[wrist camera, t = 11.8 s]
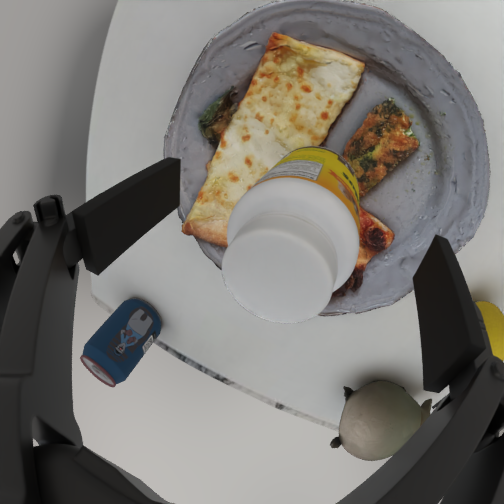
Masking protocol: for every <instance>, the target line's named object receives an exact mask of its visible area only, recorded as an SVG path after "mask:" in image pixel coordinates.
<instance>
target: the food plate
mask: <svg viewBox="0 0 504 504" xmlns="http://www.w3.org/2000/svg"><path fill="white" fill-rule="evenodd" d="M211 39H212V38H211ZM211 39H210V40H211ZM208 43H209V42H208ZM208 43H207V45H208ZM207 45H206V46H205V47H204V49H203V51H202V53H203V52H204V53H203V55H202V53H201V54H200V56H199V58H198V59H197V61H196V63H195V65H194V67H193V69H192V71H191V73H190V75H189V77H188V79H187V81H186V84H185V86H184V87H183V90H182V93H181V95H180V97H179V99H178V102H177V105H176V107H175V109H174V112H173V115H174V116H173V115H172V117H171V120H170V122H172V123H171V124H170V123H169V124H170V126H168V131H169V132H168V135H166V134H165V137H164V138H165V139H164V159H165V158H167V157H173V158H178V159H181V171H180V206H179V207H177V209H178V215H179V218H180V219H181V220H182V223H183V225H182V231H181V232H183V233H184V234H186V235H193V236H194V237H195V239H196V241H197V242H198V244H199V246H200V248H201V249H202V251H203V252H204V254H205V255H206V256H207V257H208V258H209V259H211V260H212V261H213V262H214V263H215V264H216V266H217V267H218V268H220V270H222V259H223V256H224V253H225V251H226V249H227V247H228V242H227V226H228V221H229V218H230V215H231V212H232V210H233V208H234V207H235V205H236V204H237V202H238V201H239V200H240V199H241V197H242V196H243V195H244V194H245V193H246V192H247V191H248V190H249V189H250V188H251V187H252V186H253V185H254V184H255V183H256V182H258V181H259V180H260V179H261V178H262V177H263V176H264V175H265V174H266V173H267V172H268V171H269V170H270V169H271V168H272V167H274V166H275V165H276V164H277V163H278V162H279V161H280V160H281V159H282V158H283V157H284V156H286V155H287V154H288V153H290V152H292V151H293V150H296V149H298V148H301V147H306V146H319V147H324V148H327V149H330V150H332V151H334V152H336V153H338V154H339V155H341V156H342V157H343V158H344V159H345V160H346V161H347V162H348V163H349V164H350V166H351V167H352V169H353V171H354V173H355V175H356V177H357V181H358V187H359V210H360V244H359V253H358V258H357V262H356V265H355V267H354V270H353V272H352V273H351V275H350V277H349V278H348V279H347V281H346V282H345V283H344V284H343V285H342V286H341V287H340V288H338V289H337V290H336V291H334V292H332V296H331V298H330V301H329V303H328V304H327V306H326V307H325V308H324V309H323V311H322V312H320V313H319V314H318V315H319V316H335V315H340V314H342V315H343V314H346V313H357V314H358V313H362V312H366V311H369V310H370V311H371V310H373V309H376V308H380V307H384V306H390V305H393V304H394V303H395V302H397V301H398V300H400V298H403V297H404V296H406V294H408V293H410V292H411V291H412V290H414V285H413V279H412V278H413V276H414V274H415V272H416V271H417V269H418V267H419V265H420V263H421V262H422V260H423V258H424V256H425V254H426V252H427V250H428V248H429V246H430V244H431V242H432V240H433V238H434V236H435V234H437V235H439V236H441V237H444V238H446V239H448V240H449V243H450V245H451V247H452V249H453V252H454V254H456V253H457V252H458V251H460V250H459V249H460V247H462V246H465V245H466V244H465V243H466V242H467V241H468V242H469V241H470V240H471V239H472V238H473V236H474V234H475V233H476V231H477V228H478V227H479V225H480V222H481V220H482V219H483V217H484V213H485V210H486V207H487V202H488V196H489V188H490V180H489V179H490V163H489V154H488V146H487V138H486V134H485V130H484V127H483V126H484V123H483V122H484V121H483V119H482V117H481V114H480V112H479V111H478V107H477V104H476V103H475V101H474V99H473V96H472V95H471V92H470V91H469V90H468V88H467V87H466V84H465V83H464V81H463V79H462V77H461V74H460V73H459V72H458V71H456V70H454V69H453V66H451V64H452V63H451V64H450V62H447V60H446V59H445V57H444V56H443V55H442V54H441V53H440V52H438V51H437V50H436V49H435V48H434V47H433V46H432V45H430V44H429V43H428V42H427V41H426V40H424V39H423V38H422V37H420V36H419V35H418V34H417V33H415V32H414V31H413V30H411V29H410V28H409V27H407V26H406V25H405V24H403V23H402V22H400V20H398V19H396V18H395V17H393V16H391V15H390V14H388V12H386V11H384V10H383V9H380V8H377V7H374V6H370V5H366V4H360V3H355V2H349V1H339V0H283V1H275V2H274V3H273V2H272V3H269V4H267V5H264V6H262V7H259V8H257V9H253V11H252V12H247V13H246V14H245V16H244V15H243V16H242V17H241V18H239V20H237V21H236V22H234V23H233V24H231V25H230V26H228V27H226V28H225V29H223V30H221V31H220V32H219V33H218V34H217V35H216V36H215V37H214V38H213V39H212V42H211V43H210V45H209V47H207ZM206 47H207V49H206ZM205 49H206V50H205ZM204 50H205V51H204ZM201 55H202V56H201ZM200 57H201V58H200ZM199 59H200V60H199ZM198 60H199V61H198ZM197 62H198V64H197ZM196 64H197V66H196ZM195 66H196V68H195ZM194 68H195V69H194ZM193 70H194V71H193ZM192 72H193V73H192ZM457 72H458V73H459V74H458V73H457ZM176 109H177V110H176ZM175 110H176V112H175ZM174 113H175V114H174ZM166 132H167V131H166ZM468 242H467V243H468ZM461 249H462V248H461Z"/></svg>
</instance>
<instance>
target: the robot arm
mask: <svg viewBox="0 0 504 504" xmlns="http://www.w3.org/2000/svg"><path fill="white" fill-rule="evenodd" d="M180 171H181V159H178V158H173V157H167V158H165V159H163V160H161V161H159V162H157V163H155V164H153V165H151V166H149V167H148V168H146V169H144V170H142V171H140V172H138V173H136V174H134V175H133V176H131V177H129V178H127V179H125V180H123V181H122V182H120V183H118V184H116V185H115V186H113V187H111V188H109V189H108V190H106V191H104V192H103V193H100V194H99V195H97V196H96V197H94V198H93V199H91V200H89V201H87V202H86V203H84V204H83V205H81V206H80V207H78V208H76V209H75V210H73V211H72V212H70V213H69V214H67V215H65V210H64V206H63V201H62V197H61V196H60V195H50V196H46V197H44V198H42V199H40V200H38V201H37V202H36V203H35V204H34V205H33V206H34V210H35V214H36V217H37V221H38V222H33V220H32V216H31V213H30V212H29V211H23V212H22V211H20V212H18V213H16V214H15V215H13V216H12V217H11V218H9V219H8V221H7V222H6V223H5V224H4V225H3V226H2V228H1V229H0V504H174V503H170V502H167V501H165V500H164V499H163V498H161V497H160V496H159V495H157V493H155V492H154V491H153V490H152V489H151V488H149V487H148V486H147V485H146V484H145V483H143V482H142V481H141V480H140V479H138V478H136V477H135V476H133V475H131V474H130V473H128V472H126V471H125V470H123V469H121V468H120V467H118V466H116V465H115V464H113V463H112V462H110V461H108V460H106V459H105V458H103V457H101V456H99V455H98V454H96V453H95V452H93V451H91V450H90V449H88V448H87V447H85V446H83V442H82V436H81V432H80V429H79V426H78V424H77V422H76V420H75V417H74V413H73V400H72V338H73V321H74V308H75V299H76V291H77V283H78V275H79V265H78V262H79V261H80V260H81V259H82V258H83V260H84V263H85V267H86V269H87V270H89V271H90V272H92V273H94V274H96V275H99V274H100V273H101V272H102V271H104V270H105V269H106V268H107V267H108V266H109V265H110V264H111V263H112V262H113V261H115V260H116V259H117V258H118V257H119V256H120V255H121V254H122V253H124V252H125V251H126V250H127V249H128V248H129V247H130V246H132V245H133V244H134V243H135V242H136V241H137V240H139V239H140V238H141V237H142V236H143V235H144V234H146V233H147V232H148V231H149V230H150V229H152V228H153V227H154V226H155V225H156V224H158V223H159V222H160V221H161V220H163V219H164V218H165V217H166V216H167V215H169V214H170V213H171V212H172V211H174V210H175V209H176V208H177V207H179V206H180ZM15 251H16V253H17V255H18V258H19V260H20V261H19V263H18V264H16V263H15V260H14V258H13V253H14V252H15ZM412 279H413V285H414V291H415V297H416V304H417V311H418V319H419V327H420V337H421V348H422V363H423V389H424V390H425V391H430V392H436V393H440V392H441V391H442V390H443V389H444V388H445V387H447V386H448V385H449V391H450V393H449V394H448V395H447V396H445V397H444V398H443V399H442V400H440V401H439V402H438V403H436V404H435V405H434V406H433V407H432V408H433V409H434V408H435V407H436V408H435V410H434V411H433V412H432V413H431V415H430V416H429V417H428V418H427V419H426V421H425V422H424V423H423V424H422V425H421V426H420V428H419V429H418V430H417V431H416V432H415V433H414V434H413V435H412V437H411V438H410V439H409V440H408V441H407V442H406V443H405V444H404V445H403V446H402V447H401V448H400V449H399V450H398V451H397V452H396V453H395V454H394V455H393V456H392V457H391V458H390V459H389V460H388V461H387V462H386V463H385V464H384V465H383V466H382V467H380V469H378V470H377V471H376V472H375V473H374V474H373V475H371V476H370V477H369V478H368V479H367V480H366V481H364V482H363V483H362V484H361V485H360V486H358V487H357V488H356V489H355V490H353V491H352V492H351V493H350V494H348V495H347V496H346V497H344V498H343V499H342V500H340V501H339V502H338V503H336V504H438V503H439V501H440V500H441V499H442V498H443V499H442V501H441V503H440V504H504V433H503V434H502V436H500V437H499V432H500V431H501V430H502V429H503V428H504V363H503V361H502V360H501V359H500V358H498V357H496V356H494V355H493V352H492V348H491V344H490V340H489V337H488V333H487V331H486V326H485V323H484V320H483V316H482V313H481V311H480V309H479V308H478V306H477V305H476V303H475V302H473V300H472V297H471V295H470V292H469V289H468V286H467V284H466V281H465V278H464V276H463V273H462V271H461V268H460V266H459V263H458V261H457V258H456V256H455V254H454V252H453V249H452V247H451V245H450V243H449V240H448V239H446V238H444V237H441V236H439V235H437V234H435V236H434V238H433V240H432V242H431V244H430V246H429V248H428V250H427V252H426V254H425V256H424V258H423V260H422V262H421V263H420V265H419V267H418V269H417V271H416V272H415V274H414V276H413V278H412ZM33 439H35V440H36V441H37V442H38V444H39V446H35V447H33ZM443 496H444V497H443Z"/></svg>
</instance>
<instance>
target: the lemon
mask: <svg viewBox="0 0 504 504" xmlns="http://www.w3.org/2000/svg"><path fill="white" fill-rule="evenodd" d="M475 303H476V305H477V306H478V308H479V309H480V311H481V313H482V316H483V320H484V323H485V326H486V331H487V333H488V337H489V340H490V344H491V348H492V352H493V355H494V356H496V357H498V358H500V359H501V360H502V361H503V360H504V315H503V314H502V312H501V311H500V309H499V308H498V307H497V306H495V305H494V304H492V303H490V302H485V301H479V302H475Z"/></svg>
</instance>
